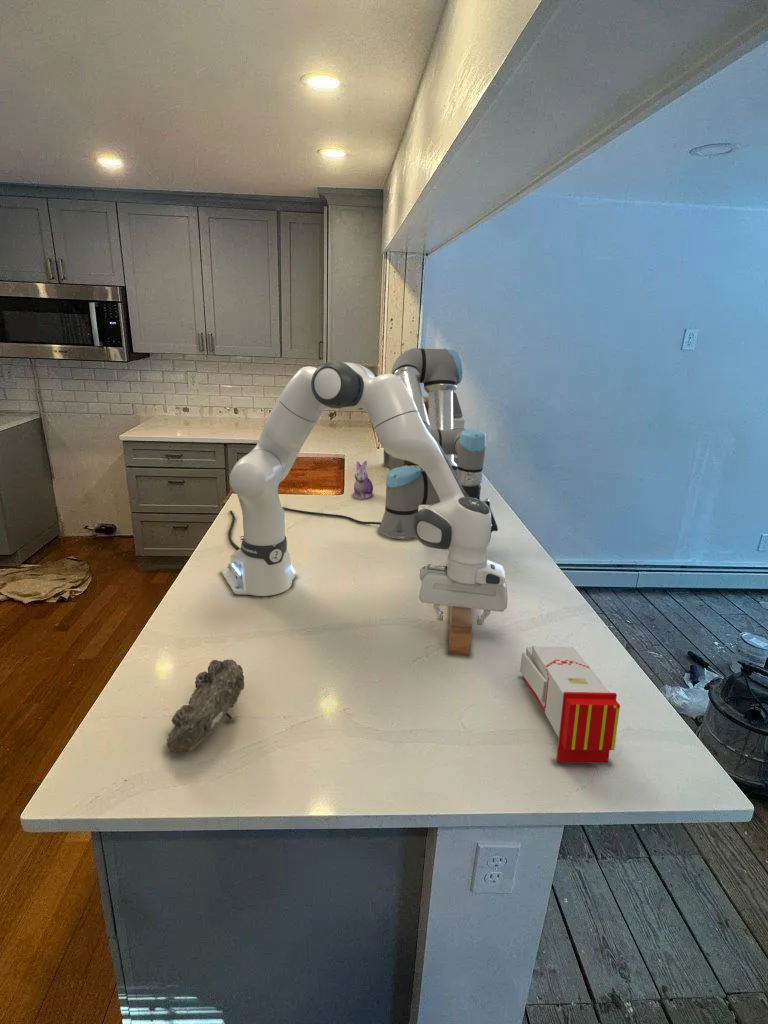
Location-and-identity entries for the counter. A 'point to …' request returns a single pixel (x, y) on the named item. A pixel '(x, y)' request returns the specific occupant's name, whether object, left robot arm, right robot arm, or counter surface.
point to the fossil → (206, 705)
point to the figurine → (362, 482)
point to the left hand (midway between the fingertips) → (459, 621)
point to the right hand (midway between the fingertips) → (461, 548)
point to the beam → (460, 630)
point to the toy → (572, 703)
